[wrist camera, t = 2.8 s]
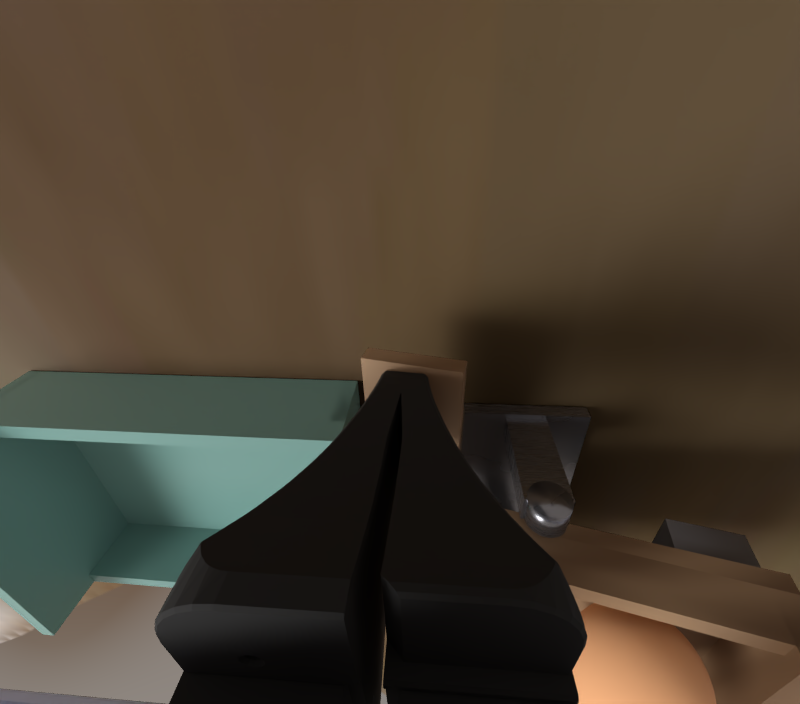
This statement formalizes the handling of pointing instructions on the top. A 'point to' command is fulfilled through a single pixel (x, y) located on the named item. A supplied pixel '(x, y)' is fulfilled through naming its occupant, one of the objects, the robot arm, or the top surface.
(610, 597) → the chute
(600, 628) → the ball
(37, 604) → the tray
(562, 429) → the launcher stand
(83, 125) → the top surface
